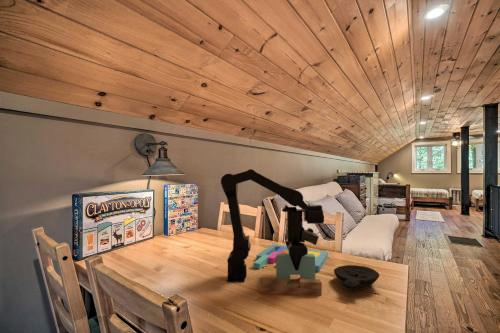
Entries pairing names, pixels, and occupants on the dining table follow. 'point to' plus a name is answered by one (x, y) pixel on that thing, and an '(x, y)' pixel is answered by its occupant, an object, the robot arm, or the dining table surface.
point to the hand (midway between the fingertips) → (295, 265)
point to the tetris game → (268, 257)
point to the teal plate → (286, 268)
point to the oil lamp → (356, 276)
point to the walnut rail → (290, 287)
